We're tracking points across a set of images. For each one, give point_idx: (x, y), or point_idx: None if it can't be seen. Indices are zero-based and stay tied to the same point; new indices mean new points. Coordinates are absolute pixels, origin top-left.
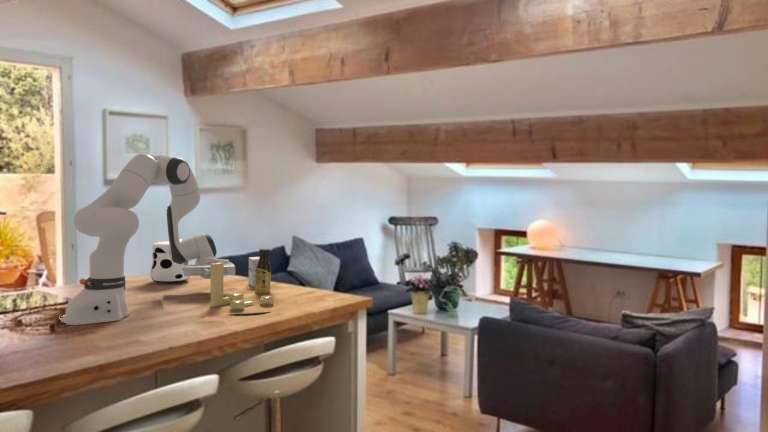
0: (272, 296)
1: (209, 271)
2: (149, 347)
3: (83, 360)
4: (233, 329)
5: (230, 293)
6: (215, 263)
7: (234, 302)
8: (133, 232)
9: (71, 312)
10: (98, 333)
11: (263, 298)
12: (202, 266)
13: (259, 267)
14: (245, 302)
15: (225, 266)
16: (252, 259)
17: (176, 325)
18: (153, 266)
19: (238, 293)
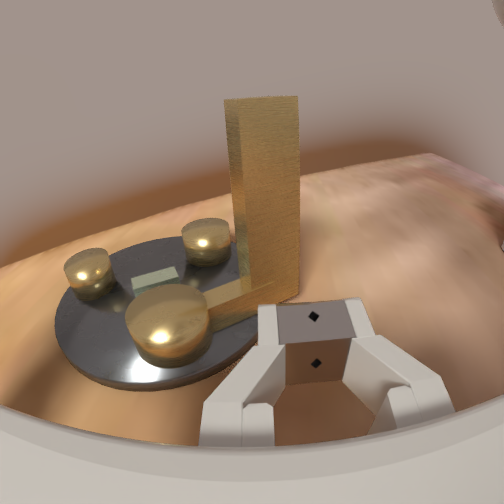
0: (66, 262)
1: (331, 302)
2: (367, 169)
3: (415, 163)
4: None
5: (181, 331)
6: (270, 96)
7: (217, 222)
8: (501, 20)
9: None
10: (472, 205)
11: (105, 250)
12: (502, 420)
13: None
14: (158, 276)
15: (27, 417)
16: None
17: (367, 213)
18: None
19: (142, 322)
